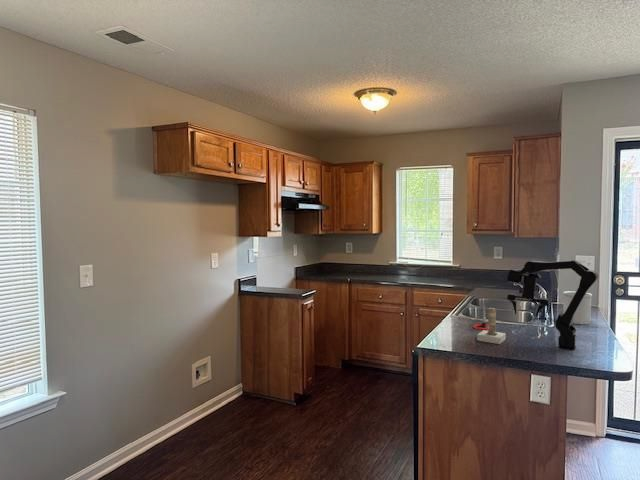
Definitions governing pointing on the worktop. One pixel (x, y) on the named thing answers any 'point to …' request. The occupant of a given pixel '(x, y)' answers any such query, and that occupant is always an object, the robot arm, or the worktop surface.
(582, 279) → the robot arm
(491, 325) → the pin
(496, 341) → the socket block
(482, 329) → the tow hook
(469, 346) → the worktop surface
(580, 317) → the utensil holder
